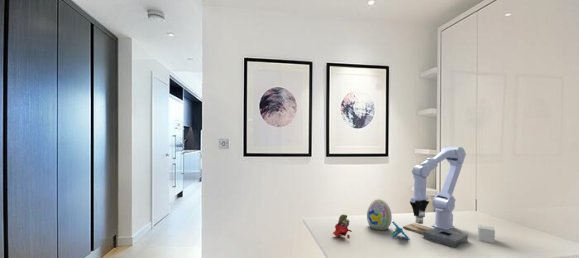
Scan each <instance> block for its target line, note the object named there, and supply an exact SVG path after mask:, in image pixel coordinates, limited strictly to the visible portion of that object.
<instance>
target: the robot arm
mask: <svg viewBox="0 0 579 258" xmlns="http://www.w3.org/2000/svg"><path fill="white" fill-rule="evenodd" d="M466 156H467V153H466V150H465V149H464V148H463V146H449V145H447V146H444V147H442V148H441V151H440V152H439V153H437V154H436V155H435V156H434V157H427V158H426V160H425V161H423V162H421V163H420V164H417V165H415V166H413V168H412V170H411V174H412V175H413V179H414V181H413V182H414V183H413V196H412V197H410V201H409V204H410V205H411V208H412V212H413V216H414V217H416V216H419V211H420V210H422V211H425V212H426V210H427V207H428V205H429V203H430V201H429V195H427V178H428V177H429V176H430V173H431V172H432V171H433V170H434V169H436V168H437V167H438V165H439V163H440V162H443V161H444V160H446V162H447V163H448V164H449V165H450V166H449V168H448V171H447V173H446V176H445V179H444V183H443V184H442V185H443V186H442V188H441V191H439V192H436V194H435V196H434V197H433V199H432V206H433V208H434V210H435V212H434V213H435V216H434V217H435V218H434V224H432V225H431V227H434V228H436V227H439V228H443V229H446V230H451V229H453V228H455V225H454V224H453V221H454V215H453V211H454V209H455V207H456V206H455V205H456V204H455V203H456V198H455V196H454V195H453V194H454V191H455V187H456V184H457V182H458V179H459V176H460V173H461V170H462V168H463V164H464V161H465V158H466Z"/></svg>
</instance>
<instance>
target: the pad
mask: <svg viewBox="0 0 579 258" xmlns="http://www.w3.org/2000/svg"><path fill="white" fill-rule="evenodd" d="M403 228H404V230H408V231H411V232H413V233H417V234H421V235H423V233H424V232H425V231H427V230H430V229H433V227H428V226H425V225H422V224H418V223H416V222H415V223H414V222H413V223H410V224H407V225H403V226H402V229H403Z"/></svg>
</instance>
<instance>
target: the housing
mask: <svg viewBox="0 0 579 258" xmlns="http://www.w3.org/2000/svg"><path fill="white" fill-rule="evenodd" d="M432 228H433V227H432ZM422 235H423V237H422V238H423V239H424V240H428V241H431V242H435V243H437V244H440V245H444V246H447V247H451V248H453V249H456V248H459V246H462V245H464V244H466V243H468V242H469V239H468V238H469V235H468V234H464V233H461V232H457V231H453V230H451V229H448V230H446V229H443V228H439V227H434V228H433V229H430V230H427V231H425V232H424V233H423V234H422Z"/></svg>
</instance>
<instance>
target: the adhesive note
mask: <svg viewBox="0 0 579 258" xmlns="http://www.w3.org/2000/svg"><path fill="white" fill-rule="evenodd" d="M477 226H478V228H477V229H478V230H477V238H478V241H480V242H486V243H491V244H495V237H496V236H495V235H496V233H495V232H496V230H495V229H494V226H486V225H482V224H478V225H477Z"/></svg>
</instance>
